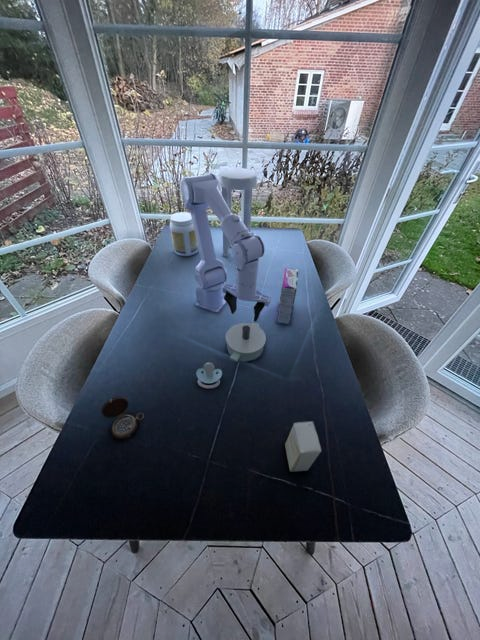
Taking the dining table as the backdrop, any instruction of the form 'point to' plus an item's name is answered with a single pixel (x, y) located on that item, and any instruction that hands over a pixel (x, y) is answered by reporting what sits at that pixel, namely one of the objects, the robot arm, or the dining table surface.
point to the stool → (237, 181)
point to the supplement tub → (183, 234)
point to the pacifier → (208, 376)
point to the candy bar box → (287, 295)
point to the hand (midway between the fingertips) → (244, 315)
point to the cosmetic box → (302, 446)
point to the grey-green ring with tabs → (244, 357)
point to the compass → (120, 417)
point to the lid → (245, 338)
